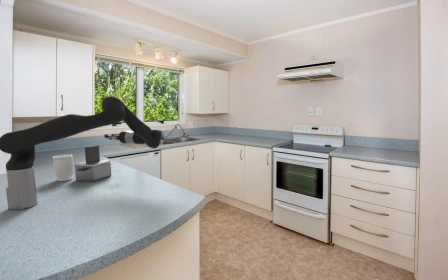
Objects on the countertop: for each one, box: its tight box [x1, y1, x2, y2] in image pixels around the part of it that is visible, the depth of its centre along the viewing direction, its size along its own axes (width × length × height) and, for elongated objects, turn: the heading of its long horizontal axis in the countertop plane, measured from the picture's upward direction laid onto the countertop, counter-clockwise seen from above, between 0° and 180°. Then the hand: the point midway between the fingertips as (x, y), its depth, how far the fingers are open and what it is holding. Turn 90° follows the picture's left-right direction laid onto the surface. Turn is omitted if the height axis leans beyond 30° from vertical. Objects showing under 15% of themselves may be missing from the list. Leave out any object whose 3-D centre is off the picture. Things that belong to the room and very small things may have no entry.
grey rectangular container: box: [74, 162, 112, 183], centre depth 150 cm, size 20×14×9 cm
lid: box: [74, 144, 111, 167], centre depth 148 cm, size 14×14×11 cm
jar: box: [52, 153, 75, 182], centre depth 146 cm, size 11×10×15 cm
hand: (105, 135), depth 144 cm, fingers closed
